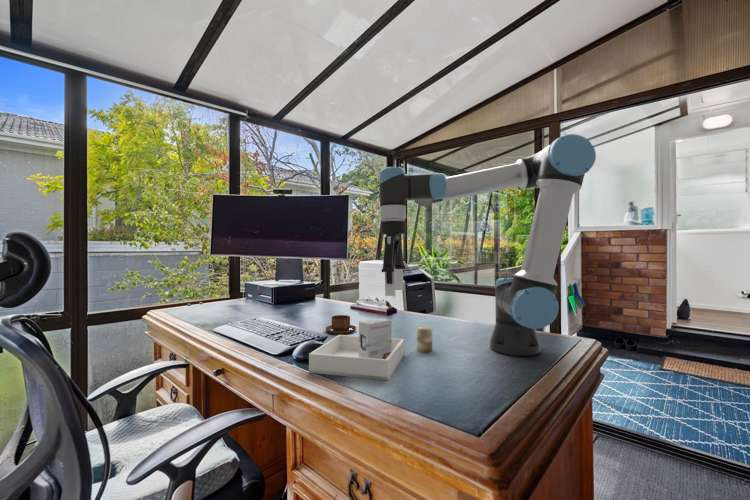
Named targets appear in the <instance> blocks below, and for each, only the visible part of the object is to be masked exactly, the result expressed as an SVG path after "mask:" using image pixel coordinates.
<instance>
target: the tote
mask: <svg viewBox="0 0 750 500" xmlns="http://www.w3.org/2000/svg"><path fill="white" fill-rule="evenodd" d="M405 352H406V350H405V338H393V337H391V353H390V355H389V356H388V357H387V358H386V359H376V358H364V357H359V335H351V334H350V335H348V334H337V335H336V336H334V337H333V338H331V339H329V341H327V342H325V343H324V344H322V345H320V346H319V347H317V348H316V349H314V350H313V351H311V352H310V353H308V373H309V374H319V375H330V376H331V375H332V376H339V377H348V378H357V379H358V378H360V379H368V380H369V379H370V380H378V381H379V380H380V381H386V382H387V381H389V380H390V378H391V377H392V375H393V374H394V372H395V371H396V369H397V368H398V366H399V365H400V363H401V361H402V360H403V358H404V357H405V354H406V353H405Z"/></svg>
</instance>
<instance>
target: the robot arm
mask: <svg viewBox="0 0 750 500" xmlns="http://www.w3.org/2000/svg"><path fill="white" fill-rule="evenodd" d="M596 157H597V154H596V148H595V147H594V145H593V144H592V142H590V139H588V138H586V137H585V136H584V135H580V134H577V133H569V134H568V133H567V134H565V135H562V136H561V137H557V138H556V139H553V141H552V142H551V143H550V144H548V145H547V146H546V147H544V148H543V149H542V150H540V151H538V152H537V153H535V154H532V155H529V156H528V157H524V158H520V159H517V160H516V162H515V163H510V164H505V165H501V166H495V167H490V168H485V169H480V170H476V171H471V172H470V171H469V172H466V173H461V174H457V175H456V174H455V175H452V176H446V174H445V173H441V172H440V173H439V172H437V173H436V172H432V173H413V174H407V173H406V171H405V169H404V168H403V167H401V166H387V167H384V168H382V169H381V170H380V172H379V184H378V186H379V189H378V190H379V209H380V210H378V214H380V216H379V217H380V220H381V222H380V234H381V235H385V236H384V251H383V262H382V263H383V264H382V268H381V273H384V296H386V297H395V296H396V291H404V270H405V269H406V265H405V263H404V262H405V261H404V254H403V253H404V252H403V243H402V237H400V235H405V234H406V233H407V222H406V221H405V220H406V219H407V211H406V210H407V208H406V207H407V206H406V201H414V203H416V204H417V205H418V206H421V207H427V206H430V205H432V204H435V203H437V204H438V203H442V202H446V201H451V200H457V199H463V198H467V197H473V196H478V195H483V194H487V193H494V192H499V191H504V190H508V189H509V190H510V189H515V188H520V189H521V190H525V189H532V188H539V194H538V198H537V202H536V205H535V210H534V215H533V217H532V221H531V227H530V230H529V234H528V235H529V236H528V238H527V244H526V248H525V250H524V256H523V259H522V264H521V267H520V268H521V269H520V270H519V271H518V272H516V273H514V274H513V277H501V278H500V277H499V278H498V279H496V281H495V287H494V290H495V294H494V295H495V301H494V302H495V308H494V309H495V325H494V328H493V331H492V334H491V336H490V340H489V348H490V349H491V350H493V351H494V352H497V353H500V354H504V355H509V356H510V355H511V356H521V357H522V356H523V357H524V356H527V357H528V356H534V355H538V354H540V353H541V343H540V341H539V337H538V334H537V331H536V329H537V330H538V329H543V328H545V327H547V326H549V325H551V324H552V323H553V322H554V321H555V319H557V316H558V314H559V309H560V308H559V307H560V306H559V301H558V299H557V297H556V293H557V288H558V283H557V281H556V279H554V275H555V271H556V267H557V263H558V258H559V255H560V251H561V247H562V243H563V242H562V241H563V238H564V234H565V230H566V226H567V223H568V217H569V212H570V209H571V205H572V201H573V198H574V194H575V193H577V192H579V191H580V190H581V189H582V187H583V182H584V179H585V174H587V173H588V172H589V171H590V170H591V169H592V168H593V167H594V165H595V162H596V159H597V158H596ZM386 235H387V236H386Z"/></svg>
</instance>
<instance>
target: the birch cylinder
mask: <svg viewBox="0 0 750 500" xmlns="http://www.w3.org/2000/svg"><path fill="white" fill-rule="evenodd" d="M416 351H417V352H419V353H431V352H433V328H432V327H430V326H421V327H420V326H419V327H416Z"/></svg>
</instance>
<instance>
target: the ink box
mask: <svg viewBox="0 0 750 500" xmlns="http://www.w3.org/2000/svg"><path fill="white" fill-rule="evenodd" d="M392 322H393V321H392V320H391V319H387V318H382V317H380V318H374V319H366V320H361V321H358V336H359V357H364V358H376V359H386V358H387V357H388V356H389V355H390V353H391V338H392Z"/></svg>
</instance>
